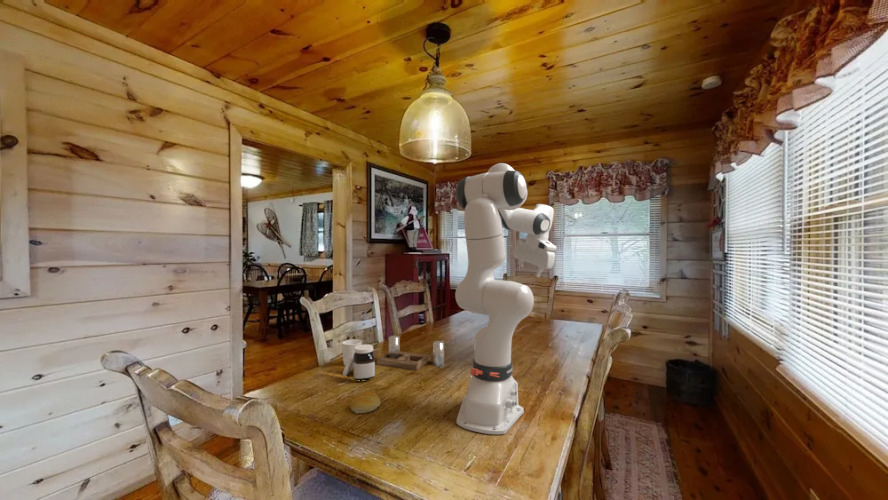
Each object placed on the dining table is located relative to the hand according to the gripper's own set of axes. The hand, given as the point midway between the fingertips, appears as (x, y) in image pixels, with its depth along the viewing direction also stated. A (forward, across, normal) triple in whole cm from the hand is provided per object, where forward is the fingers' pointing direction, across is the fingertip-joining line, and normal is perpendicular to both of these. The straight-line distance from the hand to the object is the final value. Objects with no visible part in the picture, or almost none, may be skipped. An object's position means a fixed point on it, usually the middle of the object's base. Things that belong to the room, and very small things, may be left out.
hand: (528, 273), depth 146 cm
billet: (+43, -5, -34) cm, 55 cm away
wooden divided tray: (+46, -14, -45) cm, 66 cm away
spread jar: (+47, -11, -65) cm, 81 cm away
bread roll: (+43, +12, -71) cm, 84 cm away
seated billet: (+46, -18, -47) cm, 68 cm away
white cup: (+50, -24, -63) cm, 84 cm away
